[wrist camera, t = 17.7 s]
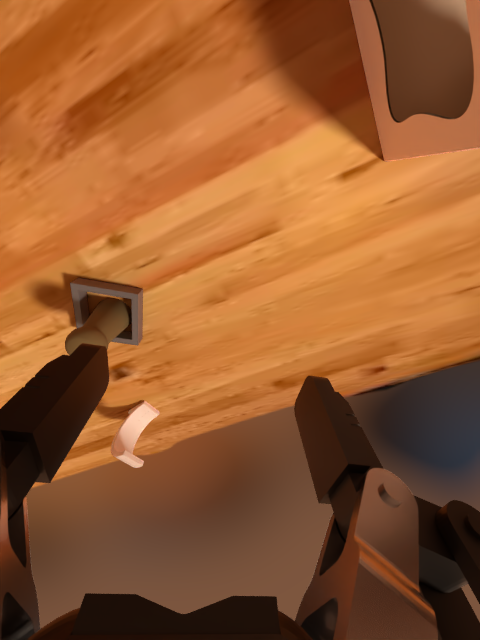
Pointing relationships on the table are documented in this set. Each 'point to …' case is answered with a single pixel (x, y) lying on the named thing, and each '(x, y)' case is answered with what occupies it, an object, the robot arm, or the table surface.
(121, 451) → the white curved bracket
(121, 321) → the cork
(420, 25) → the gable box
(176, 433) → the table surface
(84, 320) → the square frame
